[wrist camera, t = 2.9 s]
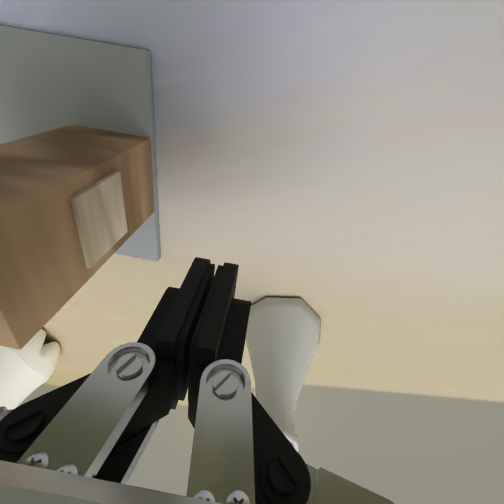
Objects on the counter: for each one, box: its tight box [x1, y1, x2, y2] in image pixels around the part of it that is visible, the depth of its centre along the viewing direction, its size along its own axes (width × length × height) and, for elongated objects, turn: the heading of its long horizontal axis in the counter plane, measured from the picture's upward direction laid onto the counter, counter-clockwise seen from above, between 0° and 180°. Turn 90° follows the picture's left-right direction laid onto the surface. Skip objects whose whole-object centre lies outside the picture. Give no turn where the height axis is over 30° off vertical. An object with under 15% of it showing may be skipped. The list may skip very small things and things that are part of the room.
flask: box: [246, 297, 321, 452], centre depth 22 cm, size 7×7×10 cm
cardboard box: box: [0, 124, 155, 350], centre depth 14 cm, size 5×5×12 cm
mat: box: [0, 25, 161, 261], centre depth 20 cm, size 18×14×1 cm
